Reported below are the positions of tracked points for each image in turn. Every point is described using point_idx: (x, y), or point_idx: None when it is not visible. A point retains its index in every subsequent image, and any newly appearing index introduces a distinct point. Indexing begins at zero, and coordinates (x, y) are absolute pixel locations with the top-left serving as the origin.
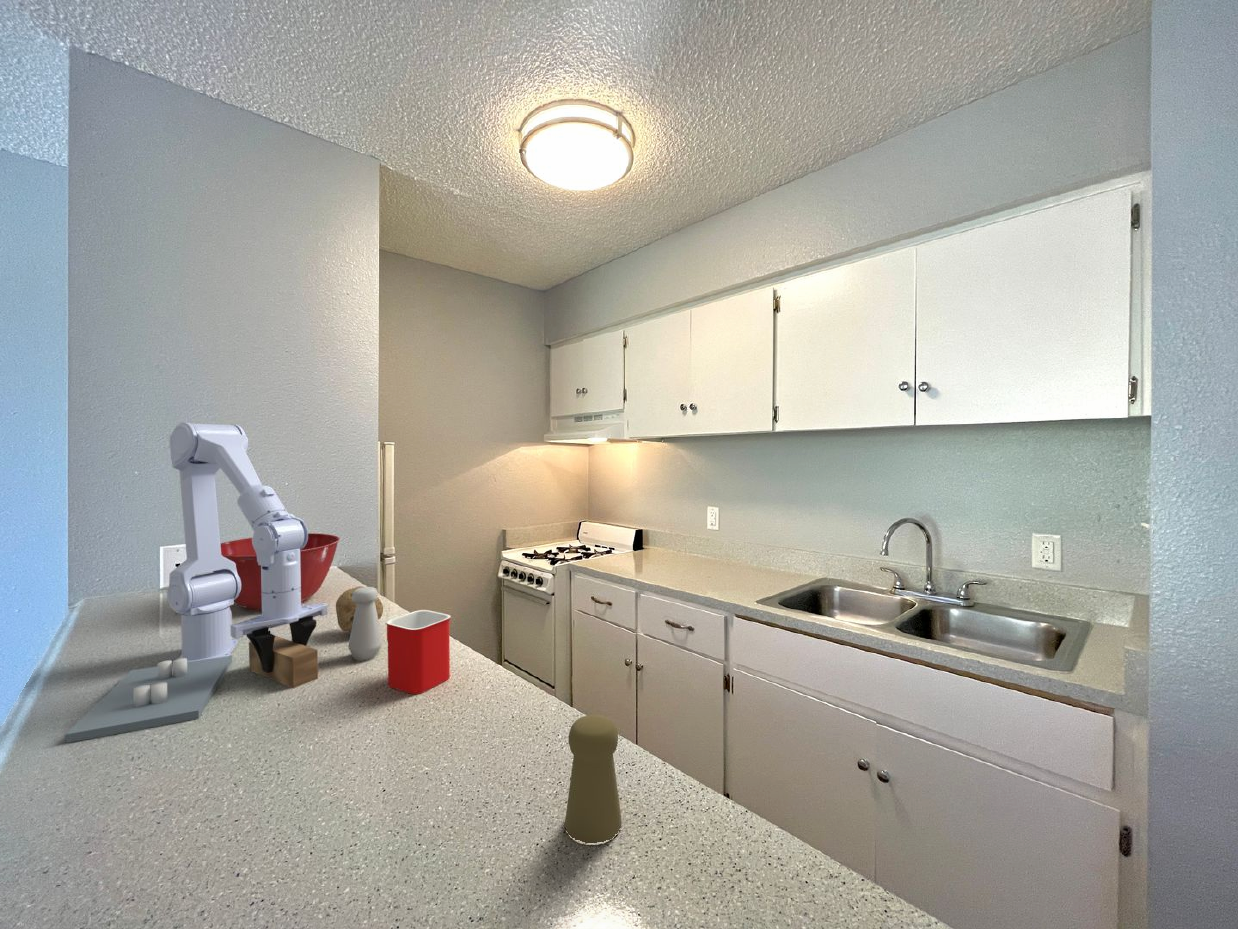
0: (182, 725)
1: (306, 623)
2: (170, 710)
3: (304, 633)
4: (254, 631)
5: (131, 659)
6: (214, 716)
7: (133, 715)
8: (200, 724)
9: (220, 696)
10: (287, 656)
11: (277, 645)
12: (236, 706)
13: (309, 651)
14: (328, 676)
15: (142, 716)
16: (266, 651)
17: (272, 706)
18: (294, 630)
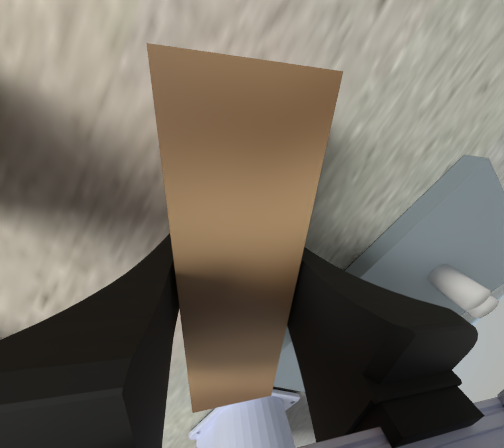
0: (489, 153)
1: (67, 423)
2: (480, 215)
3: (135, 312)
4: (480, 416)
5: (300, 430)
6: (455, 131)
7: (490, 249)
8: (491, 117)
9: (366, 231)
10: (323, 150)
11: (247, 323)
12: (407, 137)
13: (209, 78)
14: (134, 53)
15: (498, 231)
16: (341, 274)
17: (401, 7)
18: (162, 389)
